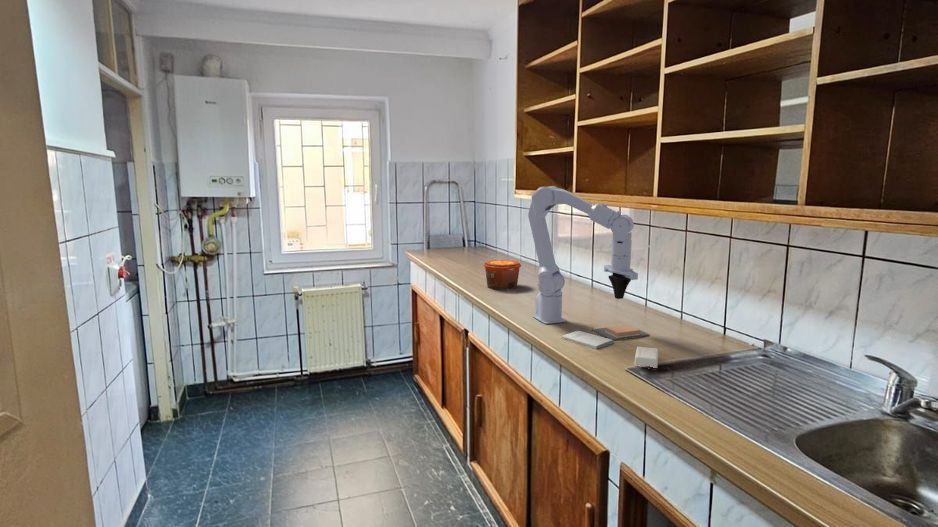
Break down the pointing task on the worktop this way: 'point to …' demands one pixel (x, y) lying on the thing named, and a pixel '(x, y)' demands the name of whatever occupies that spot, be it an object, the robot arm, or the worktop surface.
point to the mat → (603, 332)
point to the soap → (646, 357)
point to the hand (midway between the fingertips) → (619, 298)
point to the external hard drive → (587, 339)
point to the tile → (622, 331)
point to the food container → (502, 274)
